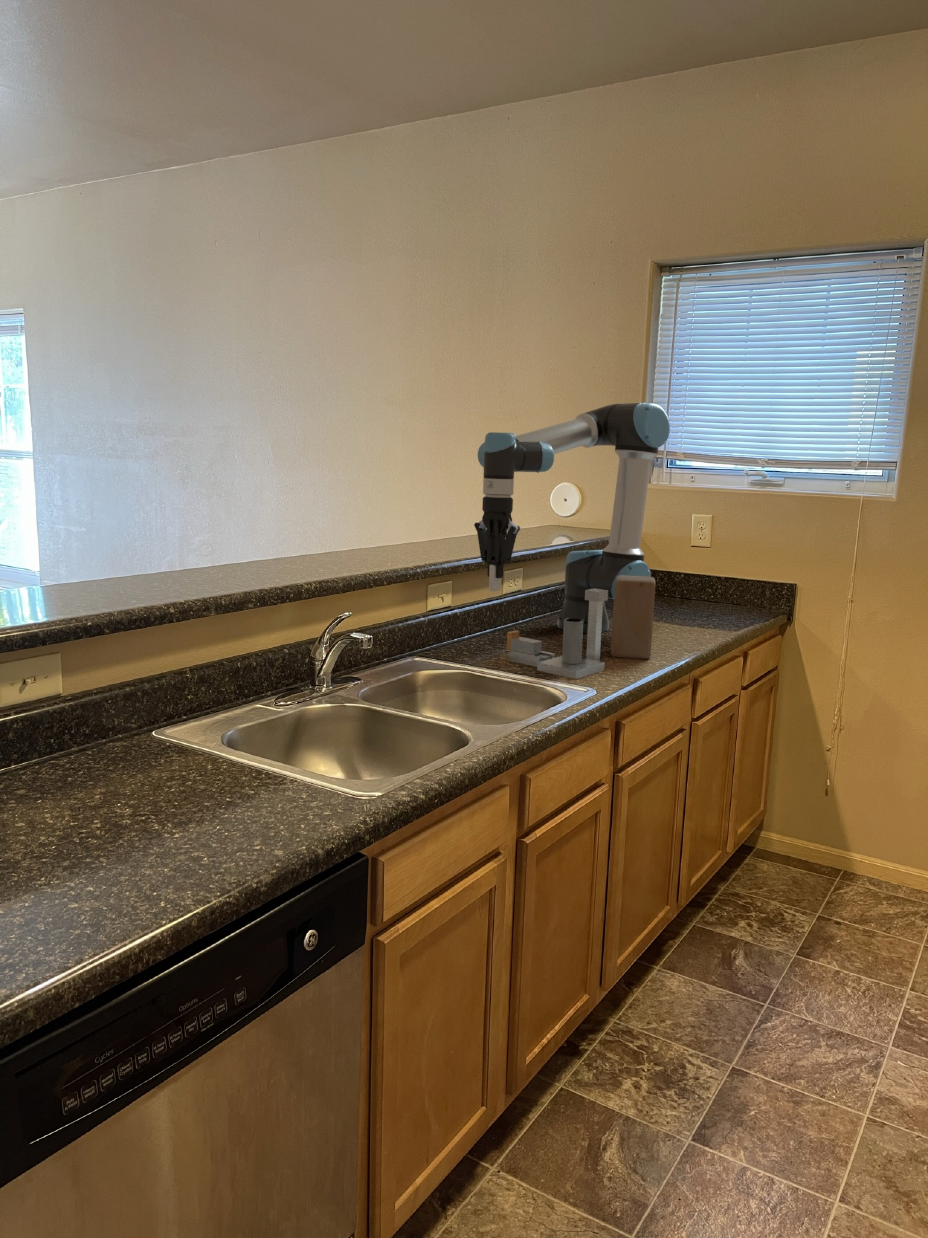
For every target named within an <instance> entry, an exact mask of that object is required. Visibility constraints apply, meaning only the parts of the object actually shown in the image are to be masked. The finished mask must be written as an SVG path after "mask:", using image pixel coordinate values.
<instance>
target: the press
mask: <svg viewBox="0 0 928 1238" xmlns="http://www.w3.org/2000/svg"><path fill="white" fill-rule="evenodd" d="M585 600H589V615H588V633H586V635H587V636H586V638H587V639H586V641H587V642H586V656H585V657H586V658H585V657H582V659H581V663H580V664H566V663H563V662H562V655H560V656H555V655H556V653H553V652H549V651H543V650H542V652H541V653H540V654H536V655H530V654H526V653H521V652H516V651H511V650H509V661H510V662H513V663H517V664H521V665H526V666H530V667H534V668H537V672H543V673H547V674H552V675H556V676H560V677H565V678H568V679H569V678H570V679H575V680H578V679H581V678H584V677H587V676H590V675H593V674H597V673H601V672H603V671H605V661H602V660H601V658H600V657H601V646H602V645H601V641H602V632H601V628H602V611H603V601H604V602H606V601H608V600H609V598H608V590H602V589H595V588H594V589H588V590H585Z"/></svg>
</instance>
